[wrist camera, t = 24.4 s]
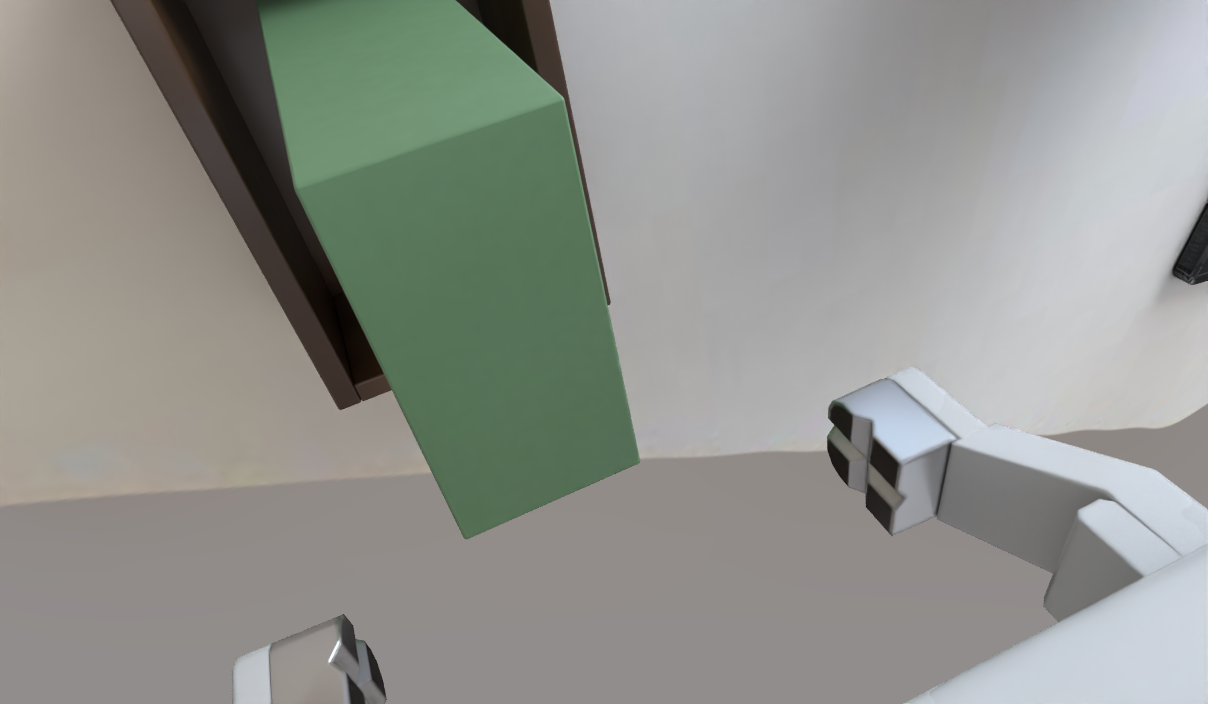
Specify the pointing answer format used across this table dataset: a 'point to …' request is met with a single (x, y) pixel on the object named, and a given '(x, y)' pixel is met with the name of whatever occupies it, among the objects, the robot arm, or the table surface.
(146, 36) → the box
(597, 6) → the table surface
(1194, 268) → the phone
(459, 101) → the tea packet
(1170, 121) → the table surface
